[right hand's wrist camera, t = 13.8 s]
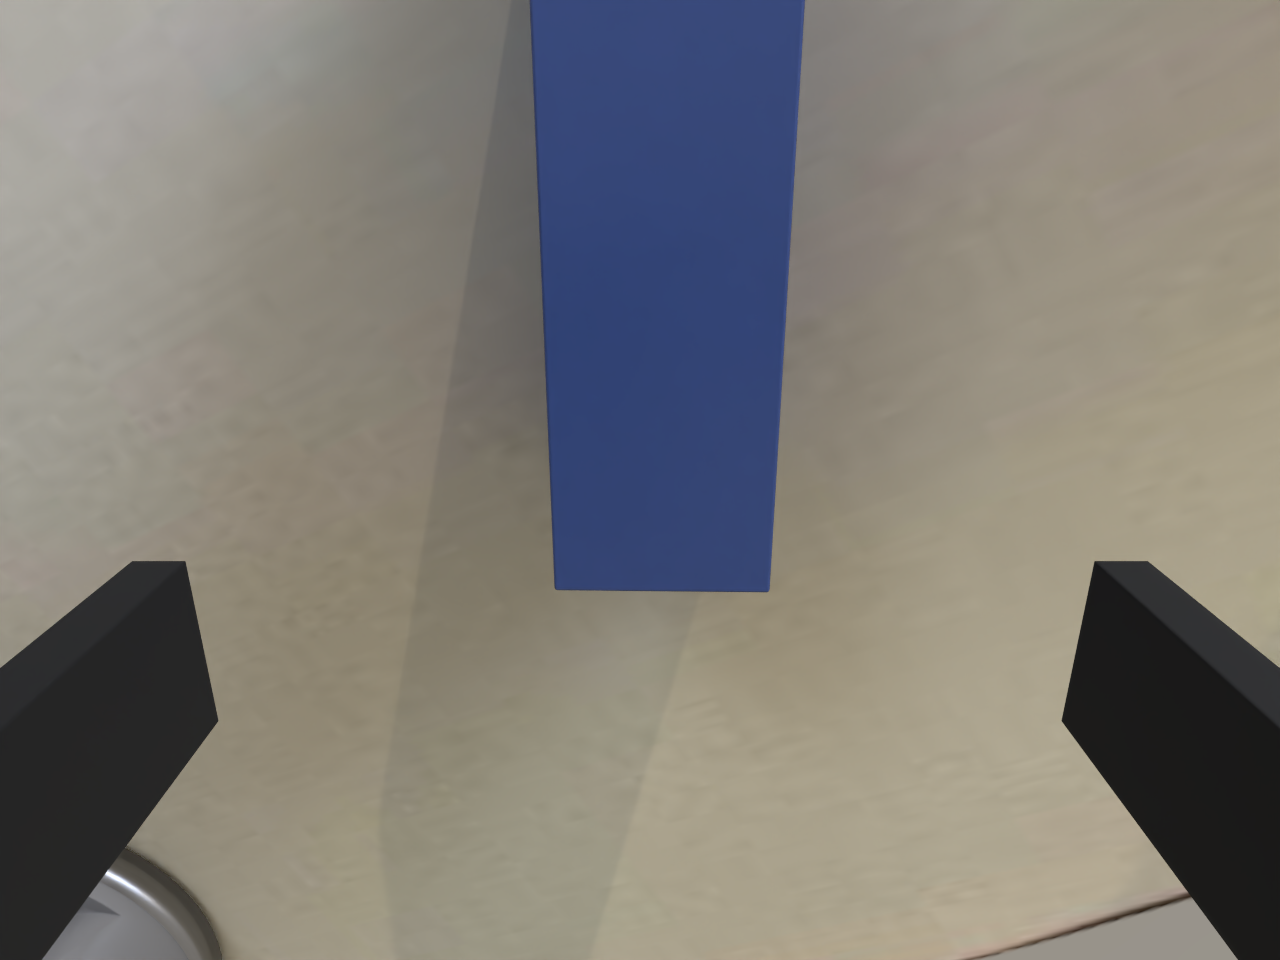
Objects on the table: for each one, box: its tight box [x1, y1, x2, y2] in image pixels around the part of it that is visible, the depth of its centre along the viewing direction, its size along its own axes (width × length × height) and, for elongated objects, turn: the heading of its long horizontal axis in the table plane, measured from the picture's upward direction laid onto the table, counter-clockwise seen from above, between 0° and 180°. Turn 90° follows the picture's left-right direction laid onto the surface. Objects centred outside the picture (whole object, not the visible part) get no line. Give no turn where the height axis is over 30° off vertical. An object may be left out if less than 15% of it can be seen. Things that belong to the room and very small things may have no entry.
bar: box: [530, 0, 805, 592], centre depth 23 cm, size 23×6×10 cm, turn 0°
